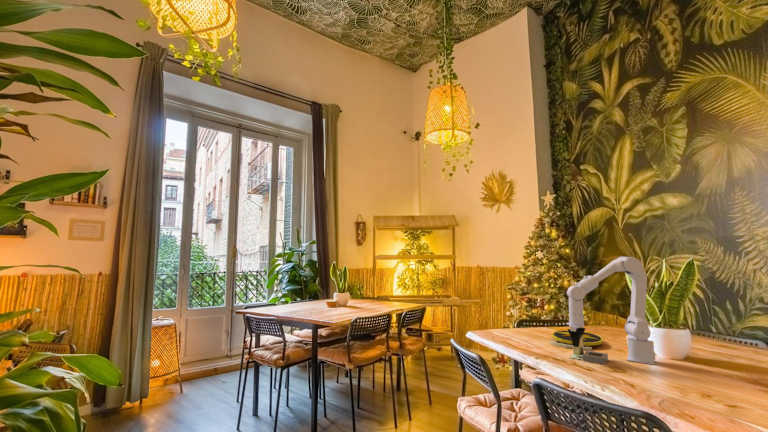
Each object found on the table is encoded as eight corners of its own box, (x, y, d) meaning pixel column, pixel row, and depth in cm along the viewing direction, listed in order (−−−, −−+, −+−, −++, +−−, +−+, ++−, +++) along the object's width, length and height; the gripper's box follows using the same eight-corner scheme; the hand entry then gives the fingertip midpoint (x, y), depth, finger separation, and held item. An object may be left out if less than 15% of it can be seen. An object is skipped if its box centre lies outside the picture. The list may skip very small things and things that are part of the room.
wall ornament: (609, 329, 198) (594, 343, 175) (610, 340, 197) (594, 355, 175) (562, 323, 213) (542, 335, 191) (562, 333, 213) (543, 346, 191)
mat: (585, 356, 170) (585, 355, 170) (582, 360, 164) (582, 359, 164) (572, 354, 173) (572, 353, 173) (569, 358, 167) (569, 357, 167)
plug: (585, 353, 169) (583, 334, 170) (583, 355, 165) (581, 336, 166) (574, 352, 171) (572, 334, 172) (572, 354, 168) (570, 335, 169)
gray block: (607, 359, 165) (607, 353, 166) (604, 364, 158) (604, 358, 158) (587, 356, 170) (586, 350, 170) (583, 361, 163) (582, 354, 163)
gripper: (569, 310, 178) (570, 340, 177) (562, 315, 167) (563, 347, 166) (586, 312, 174) (587, 343, 173) (580, 316, 162) (581, 350, 161)
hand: (577, 345), depth 169 cm, fingers closed on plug, 4 cm apart
